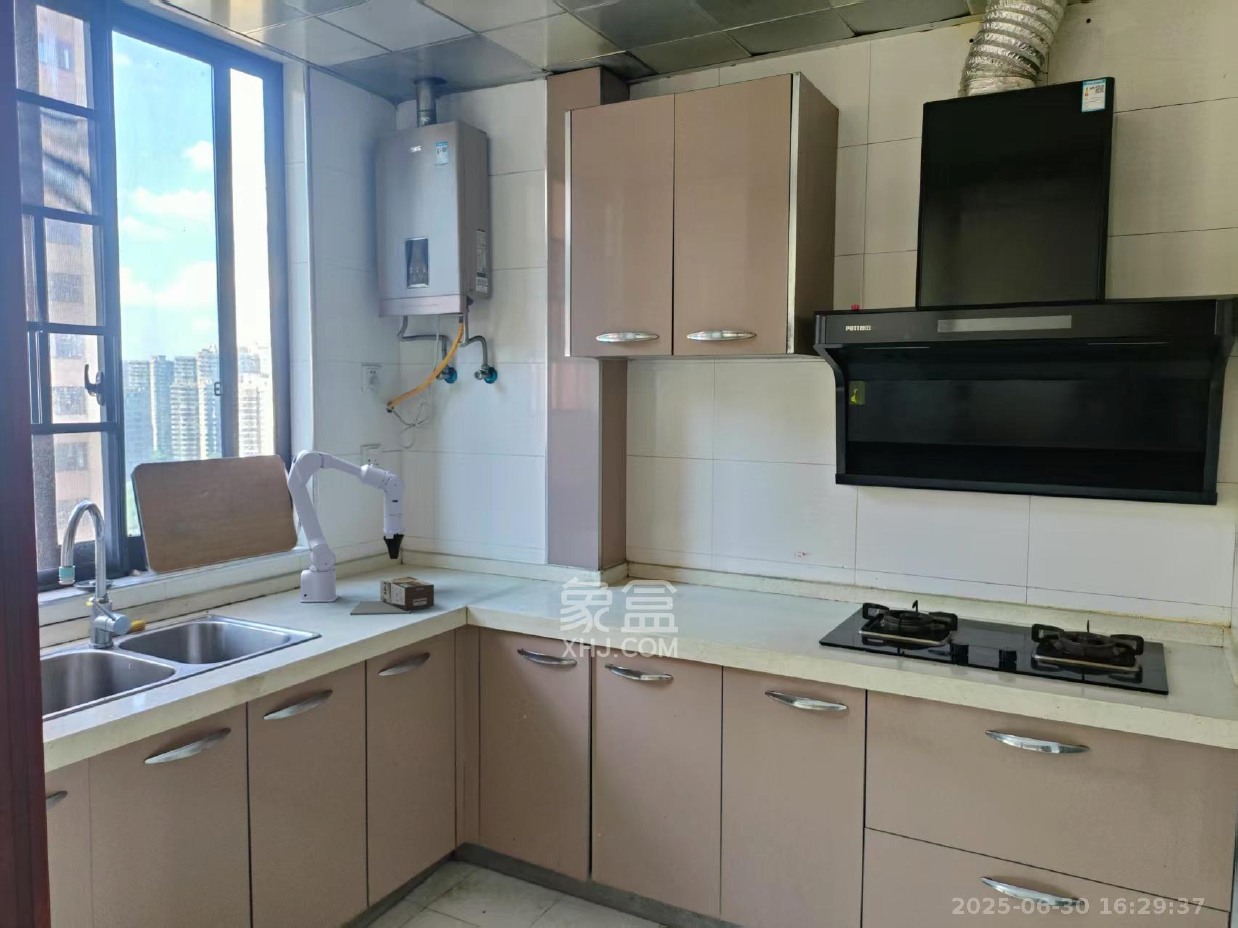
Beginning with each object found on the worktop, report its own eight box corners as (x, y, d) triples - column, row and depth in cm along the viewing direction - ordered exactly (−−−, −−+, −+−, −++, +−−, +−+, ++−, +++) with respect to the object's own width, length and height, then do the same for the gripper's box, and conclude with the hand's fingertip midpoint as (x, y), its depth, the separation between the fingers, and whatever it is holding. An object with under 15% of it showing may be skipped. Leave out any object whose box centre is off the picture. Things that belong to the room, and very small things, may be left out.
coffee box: (379, 600, 246) (404, 610, 234) (380, 578, 246) (404, 587, 233) (409, 597, 252) (434, 606, 239) (409, 575, 252) (434, 584, 239)
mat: (350, 614, 232) (350, 613, 232) (360, 603, 246) (360, 601, 246) (410, 613, 233) (410, 611, 233) (417, 602, 247) (417, 600, 247)
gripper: (402, 517, 251) (403, 562, 252) (410, 511, 266) (411, 554, 267) (378, 517, 251) (379, 563, 252) (387, 511, 265) (388, 554, 266)
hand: (394, 558), depth 259 cm, fingers closed
